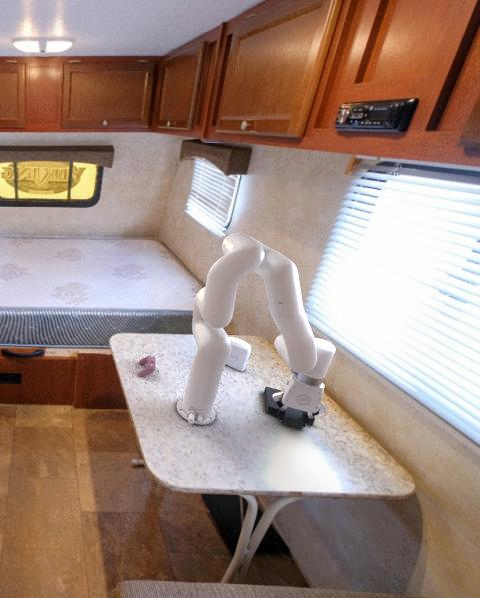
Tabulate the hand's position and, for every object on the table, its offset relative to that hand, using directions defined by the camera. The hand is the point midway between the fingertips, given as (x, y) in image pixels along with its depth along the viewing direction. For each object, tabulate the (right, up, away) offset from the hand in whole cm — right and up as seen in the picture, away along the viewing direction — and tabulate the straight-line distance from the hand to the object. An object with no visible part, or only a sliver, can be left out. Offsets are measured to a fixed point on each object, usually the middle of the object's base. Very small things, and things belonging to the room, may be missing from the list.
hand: (291, 420), depth 119 cm
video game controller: (-44, +12, +22) cm, 51 cm away
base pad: (+3, +2, +7) cm, 8 cm away
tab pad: (+1, +1, +3) cm, 3 cm away
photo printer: (-7, +13, +30) cm, 33 cm away
